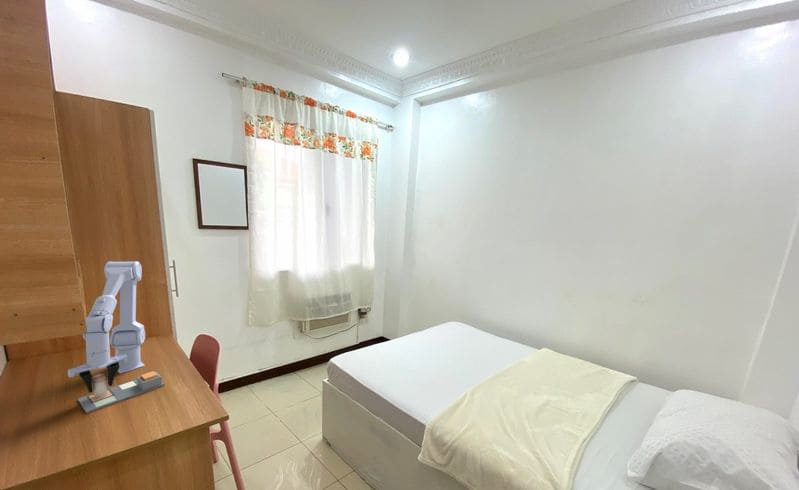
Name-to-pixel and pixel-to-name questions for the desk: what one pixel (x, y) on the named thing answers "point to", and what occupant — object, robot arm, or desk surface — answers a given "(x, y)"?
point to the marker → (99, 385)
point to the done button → (148, 376)
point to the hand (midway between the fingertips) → (100, 388)
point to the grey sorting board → (120, 393)
